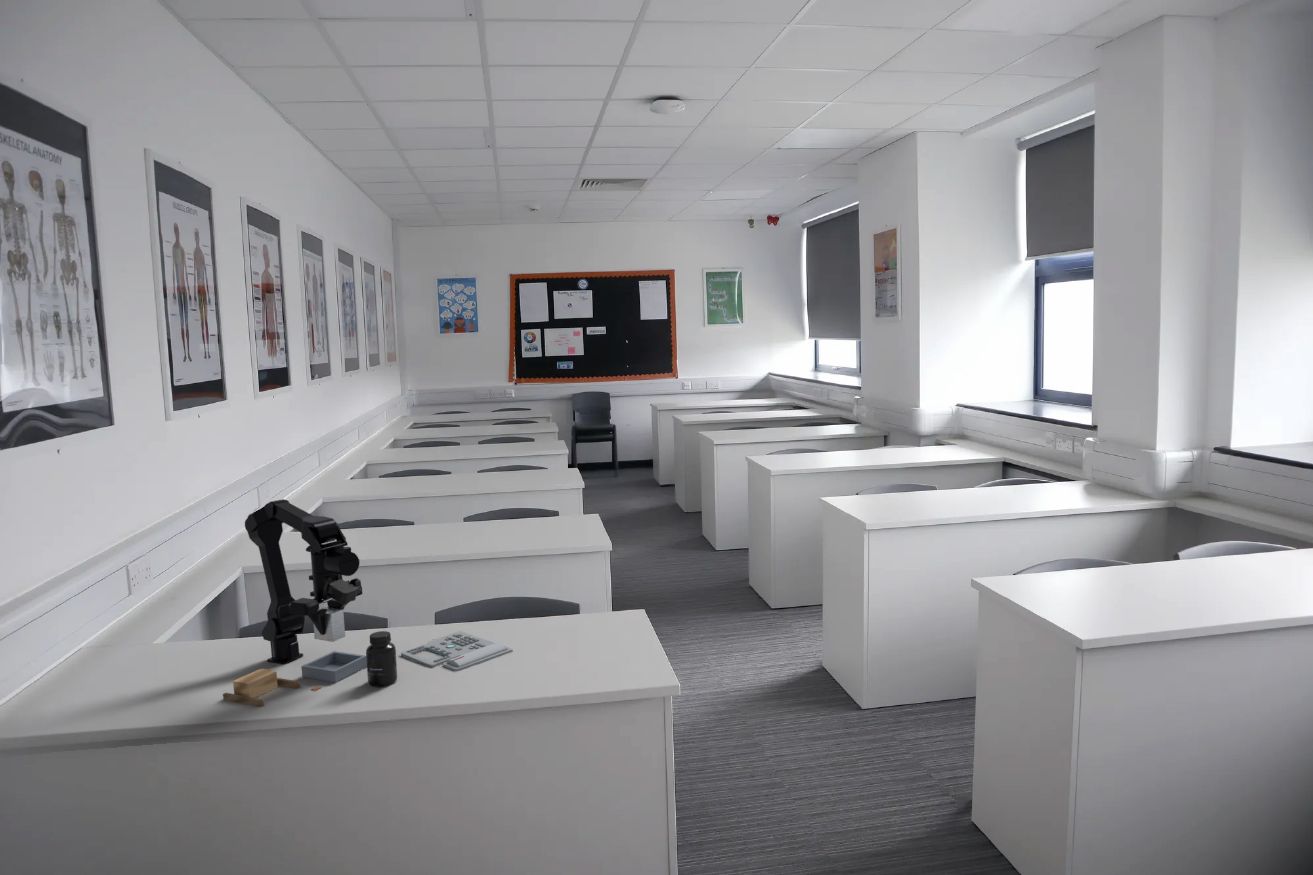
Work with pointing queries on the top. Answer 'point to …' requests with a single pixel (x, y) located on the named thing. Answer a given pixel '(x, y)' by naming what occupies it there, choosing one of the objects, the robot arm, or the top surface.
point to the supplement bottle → (381, 660)
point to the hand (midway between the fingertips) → (329, 631)
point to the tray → (334, 666)
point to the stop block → (332, 625)
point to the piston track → (260, 701)
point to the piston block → (256, 683)
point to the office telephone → (458, 651)
